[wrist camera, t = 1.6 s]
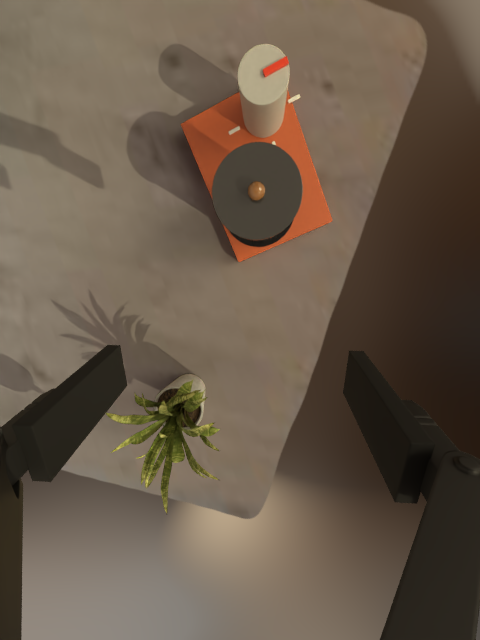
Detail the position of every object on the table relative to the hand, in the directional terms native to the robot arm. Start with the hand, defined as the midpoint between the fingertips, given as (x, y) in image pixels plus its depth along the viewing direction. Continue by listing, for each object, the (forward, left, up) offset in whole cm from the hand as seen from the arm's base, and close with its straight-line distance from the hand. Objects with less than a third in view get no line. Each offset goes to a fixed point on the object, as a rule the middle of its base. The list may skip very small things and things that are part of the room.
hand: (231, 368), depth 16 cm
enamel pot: (-11, +5, -22) cm, 25 cm away
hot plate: (-15, +7, -25) cm, 30 cm away
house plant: (+11, -15, -25) cm, 31 cm away
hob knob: (-20, +10, -23) cm, 32 cm away
